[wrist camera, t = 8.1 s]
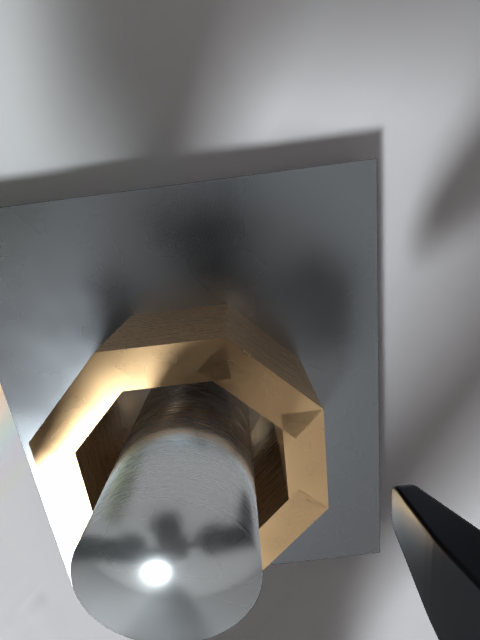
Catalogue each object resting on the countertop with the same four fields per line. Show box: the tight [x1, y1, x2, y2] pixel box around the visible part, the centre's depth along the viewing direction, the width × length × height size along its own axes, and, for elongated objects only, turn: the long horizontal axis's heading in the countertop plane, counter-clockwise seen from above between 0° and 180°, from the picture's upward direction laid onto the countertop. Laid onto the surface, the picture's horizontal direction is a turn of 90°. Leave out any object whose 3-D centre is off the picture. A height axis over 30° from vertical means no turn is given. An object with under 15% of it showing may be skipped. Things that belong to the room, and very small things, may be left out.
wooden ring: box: [29, 304, 329, 571], centre depth 10 cm, size 7×7×3 cm
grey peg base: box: [0, 159, 380, 640], centre depth 9 cm, size 14×12×6 cm
